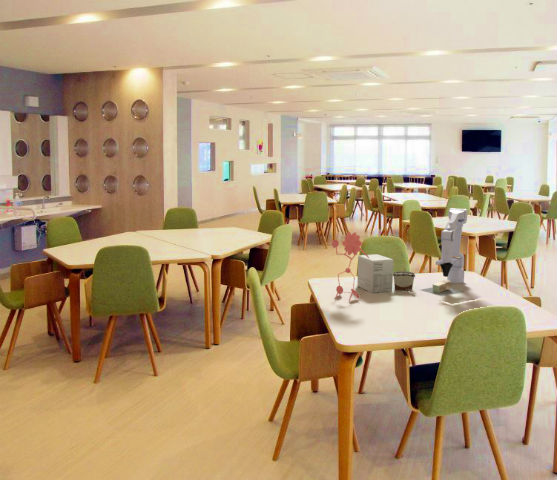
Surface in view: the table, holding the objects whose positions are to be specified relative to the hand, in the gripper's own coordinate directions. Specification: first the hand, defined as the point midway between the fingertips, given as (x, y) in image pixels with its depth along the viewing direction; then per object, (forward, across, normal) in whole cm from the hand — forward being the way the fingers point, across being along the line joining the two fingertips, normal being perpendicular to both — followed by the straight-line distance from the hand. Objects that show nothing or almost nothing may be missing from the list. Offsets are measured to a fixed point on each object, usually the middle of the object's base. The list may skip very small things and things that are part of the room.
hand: (445, 276), depth 325 cm
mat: (+9, -2, 0) cm, 9 cm away
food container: (+9, -16, +16) cm, 24 cm away
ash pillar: (+4, +2, 0) cm, 5 cm away
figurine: (+9, -51, +19) cm, 55 cm away
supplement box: (+9, -28, +26) cm, 39 cm away
